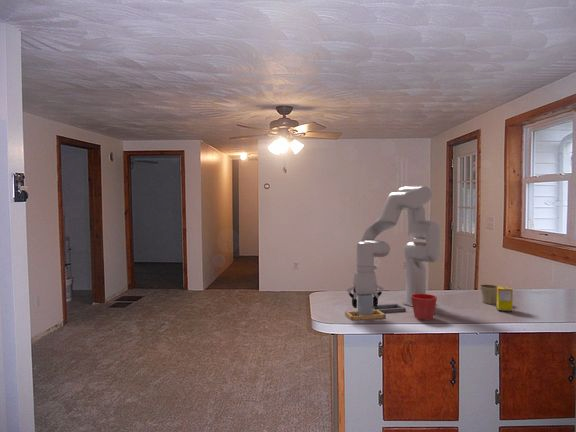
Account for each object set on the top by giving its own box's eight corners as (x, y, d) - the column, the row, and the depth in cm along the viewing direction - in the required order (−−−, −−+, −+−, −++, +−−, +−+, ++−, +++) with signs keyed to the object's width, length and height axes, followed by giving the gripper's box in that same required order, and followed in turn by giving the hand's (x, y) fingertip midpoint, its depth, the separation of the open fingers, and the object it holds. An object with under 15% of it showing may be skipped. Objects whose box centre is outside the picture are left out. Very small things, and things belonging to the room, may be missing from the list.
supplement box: (509, 309, 191) (510, 286, 191) (512, 312, 186) (512, 289, 185) (496, 308, 193) (496, 286, 193) (498, 311, 188) (498, 288, 187)
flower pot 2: (479, 304, 201) (480, 287, 201) (478, 300, 210) (478, 283, 210) (500, 306, 198) (501, 288, 197) (498, 301, 206) (498, 285, 206)
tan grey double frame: (397, 306, 196) (397, 303, 196) (414, 316, 180) (414, 312, 180) (339, 310, 190) (339, 307, 190) (351, 320, 174) (351, 316, 174)
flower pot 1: (407, 314, 183) (407, 293, 182) (430, 314, 183) (430, 293, 183) (416, 321, 172) (416, 299, 172) (440, 320, 173) (441, 298, 173)
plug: (368, 314, 183) (368, 291, 182) (372, 317, 178) (372, 293, 177) (357, 315, 182) (357, 291, 181) (361, 318, 177) (362, 294, 176)
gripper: (379, 267, 184) (379, 303, 185) (344, 268, 181) (343, 305, 181) (386, 269, 177) (386, 308, 178) (349, 271, 174) (349, 310, 174)
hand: (364, 306), depth 179 cm, fingers open, 9 cm apart
